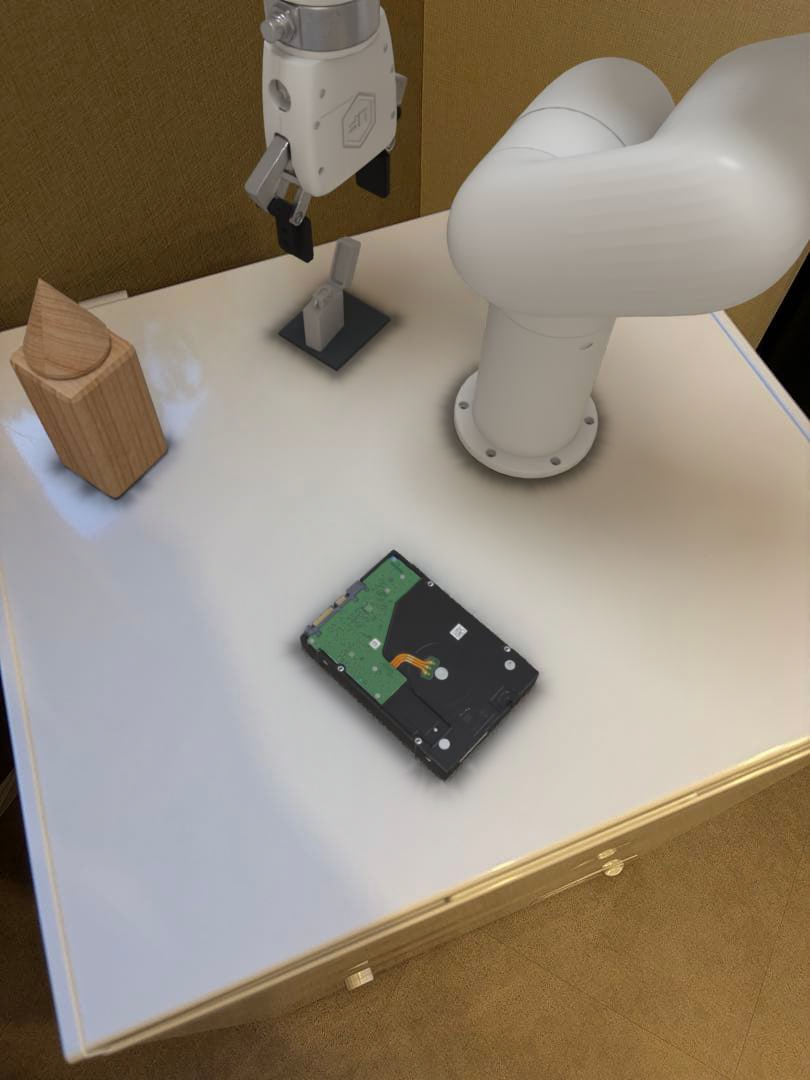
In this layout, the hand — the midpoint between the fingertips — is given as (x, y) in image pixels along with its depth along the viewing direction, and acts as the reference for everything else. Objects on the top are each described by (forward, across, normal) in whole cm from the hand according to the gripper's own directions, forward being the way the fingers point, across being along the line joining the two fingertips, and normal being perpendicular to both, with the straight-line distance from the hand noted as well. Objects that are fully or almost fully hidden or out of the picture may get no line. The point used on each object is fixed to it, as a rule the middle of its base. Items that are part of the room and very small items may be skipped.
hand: (335, 221), depth 72 cm
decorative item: (+13, -23, +6) cm, 27 cm away
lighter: (+12, 0, +1) cm, 12 cm away
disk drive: (+13, -22, -26) cm, 37 cm away
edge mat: (+13, 0, +1) cm, 13 cm away
